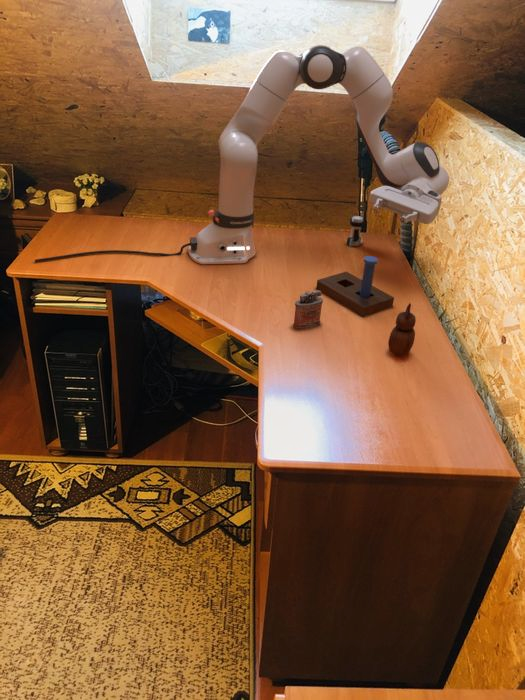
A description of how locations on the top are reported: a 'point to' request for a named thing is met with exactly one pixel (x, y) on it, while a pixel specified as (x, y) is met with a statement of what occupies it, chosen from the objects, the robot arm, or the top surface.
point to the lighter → (308, 310)
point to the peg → (368, 276)
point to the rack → (354, 294)
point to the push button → (355, 231)
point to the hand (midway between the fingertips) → (389, 214)
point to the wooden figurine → (402, 334)
